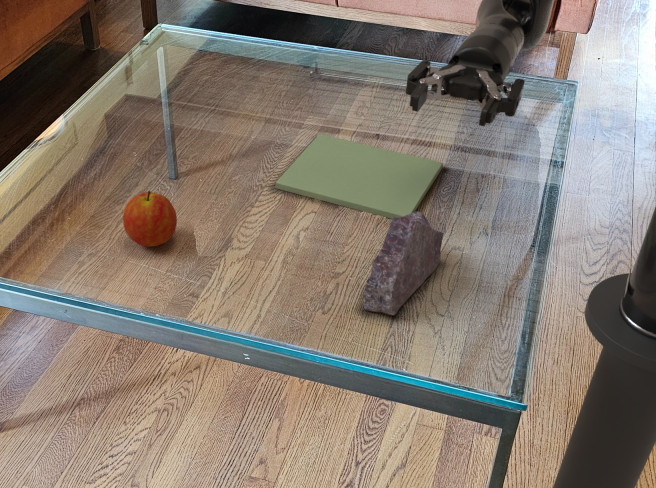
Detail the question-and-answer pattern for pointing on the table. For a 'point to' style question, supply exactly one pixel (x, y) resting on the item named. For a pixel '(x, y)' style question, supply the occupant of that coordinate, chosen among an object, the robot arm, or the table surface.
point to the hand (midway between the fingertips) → (448, 111)
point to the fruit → (149, 219)
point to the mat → (360, 177)
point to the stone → (402, 263)
